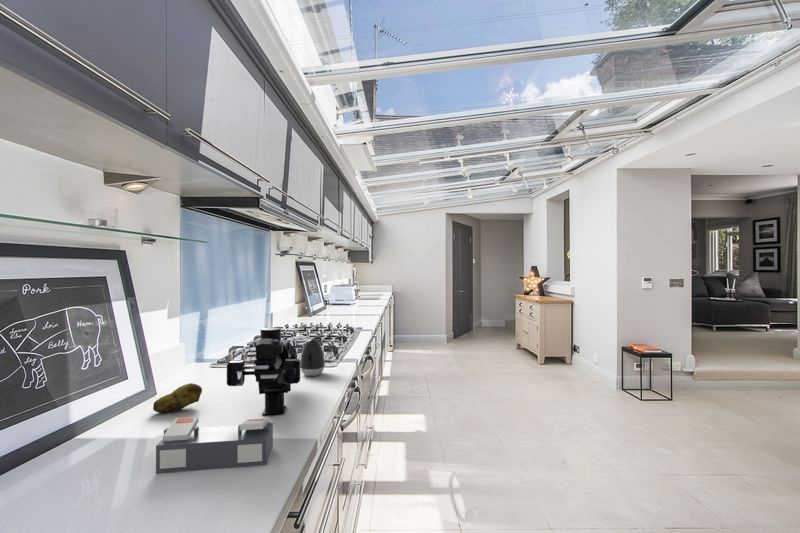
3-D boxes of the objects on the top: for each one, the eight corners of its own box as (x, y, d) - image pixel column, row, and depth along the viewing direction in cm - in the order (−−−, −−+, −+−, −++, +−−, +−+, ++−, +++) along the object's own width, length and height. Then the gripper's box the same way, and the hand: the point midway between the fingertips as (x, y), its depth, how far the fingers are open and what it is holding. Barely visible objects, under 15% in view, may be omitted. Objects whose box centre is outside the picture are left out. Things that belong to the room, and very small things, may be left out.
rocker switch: (246, 424, 96) (246, 419, 96) (267, 423, 96) (268, 418, 97) (239, 430, 89) (239, 424, 89) (262, 428, 90) (262, 422, 90)
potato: (162, 407, 127) (162, 382, 127) (204, 404, 129) (204, 380, 129) (150, 416, 118) (150, 390, 119) (196, 413, 121) (196, 387, 121)
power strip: (173, 454, 94) (173, 421, 94) (272, 447, 98) (272, 415, 98) (155, 474, 85) (155, 437, 85) (266, 465, 89) (266, 430, 89)
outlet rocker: (176, 422, 93) (175, 417, 93) (198, 421, 94) (198, 416, 94) (163, 441, 87) (162, 435, 86) (187, 439, 87) (187, 434, 87)
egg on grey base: (330, 373, 167) (330, 337, 167) (312, 379, 158) (312, 341, 158) (312, 370, 172) (312, 335, 173) (294, 375, 164) (294, 339, 164)
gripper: (235, 338, 111) (218, 349, 96) (302, 336, 114) (297, 347, 99) (234, 377, 111) (218, 395, 96) (302, 375, 114) (296, 391, 99)
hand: (258, 381), depth 97 cm, fingers open, 9 cm apart
